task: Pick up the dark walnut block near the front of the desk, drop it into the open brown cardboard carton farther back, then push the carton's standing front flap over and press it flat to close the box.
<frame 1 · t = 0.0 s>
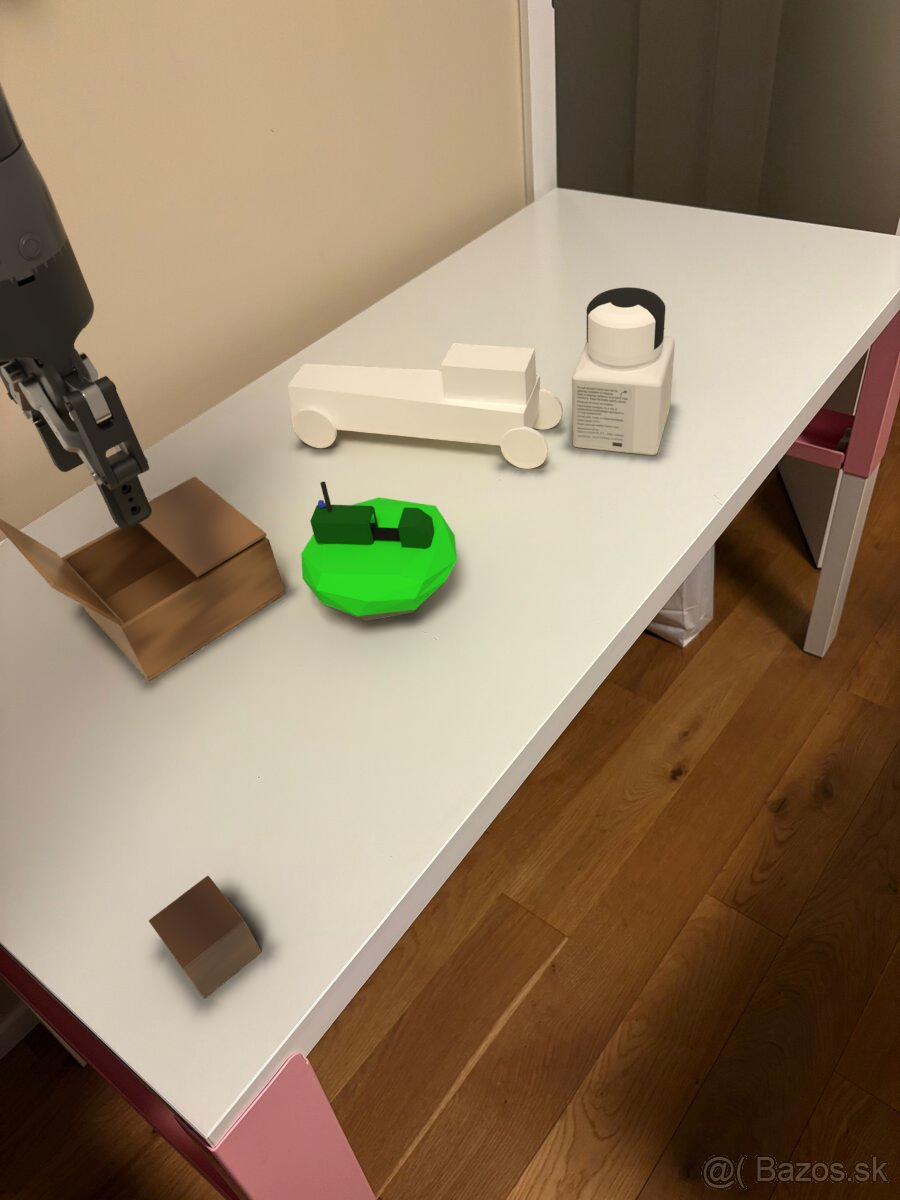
hand: (103, 491, 60), 17 cm above the table, tool pointing down, fingers open, 8 cm apart
flap: (53, 568, 68), point 9 cm above the table, hinge at 115.0°
carton: (185, 602, 78), on the table
block: (215, 951, 56), on the table
toy truck: (427, 439, 91), on the table
green domed toy: (389, 598, 76), on the table
container: (621, 430, 89), on the table
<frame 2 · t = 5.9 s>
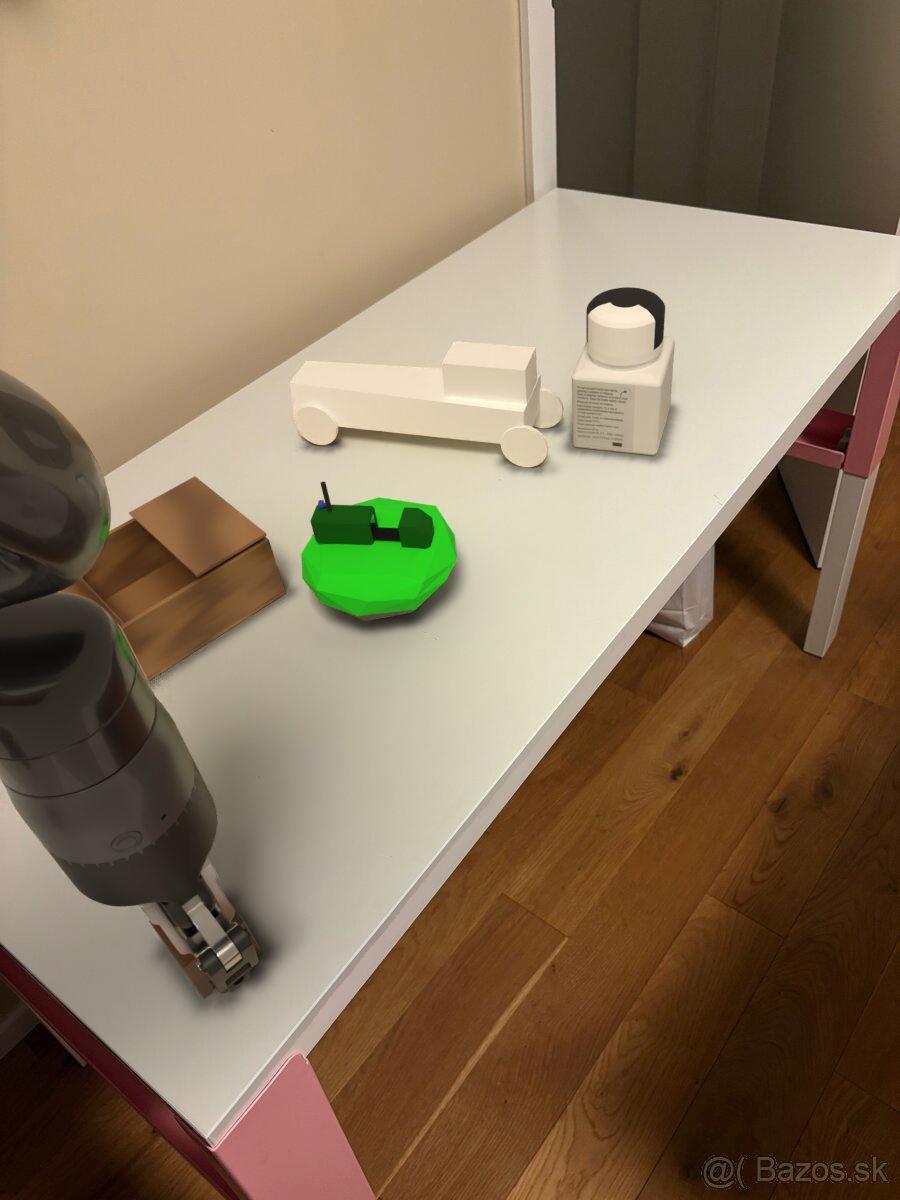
hand: (214, 949, 56), 0 cm above the table, tool pointing down, fingers closed on block, 4 cm apart
block: (215, 951, 56), on the table, touching gripper
everything else where it was.
when the fingers open (5 cm above the table, at t = 13.7 s): block drops 5 cm, resting on carton.
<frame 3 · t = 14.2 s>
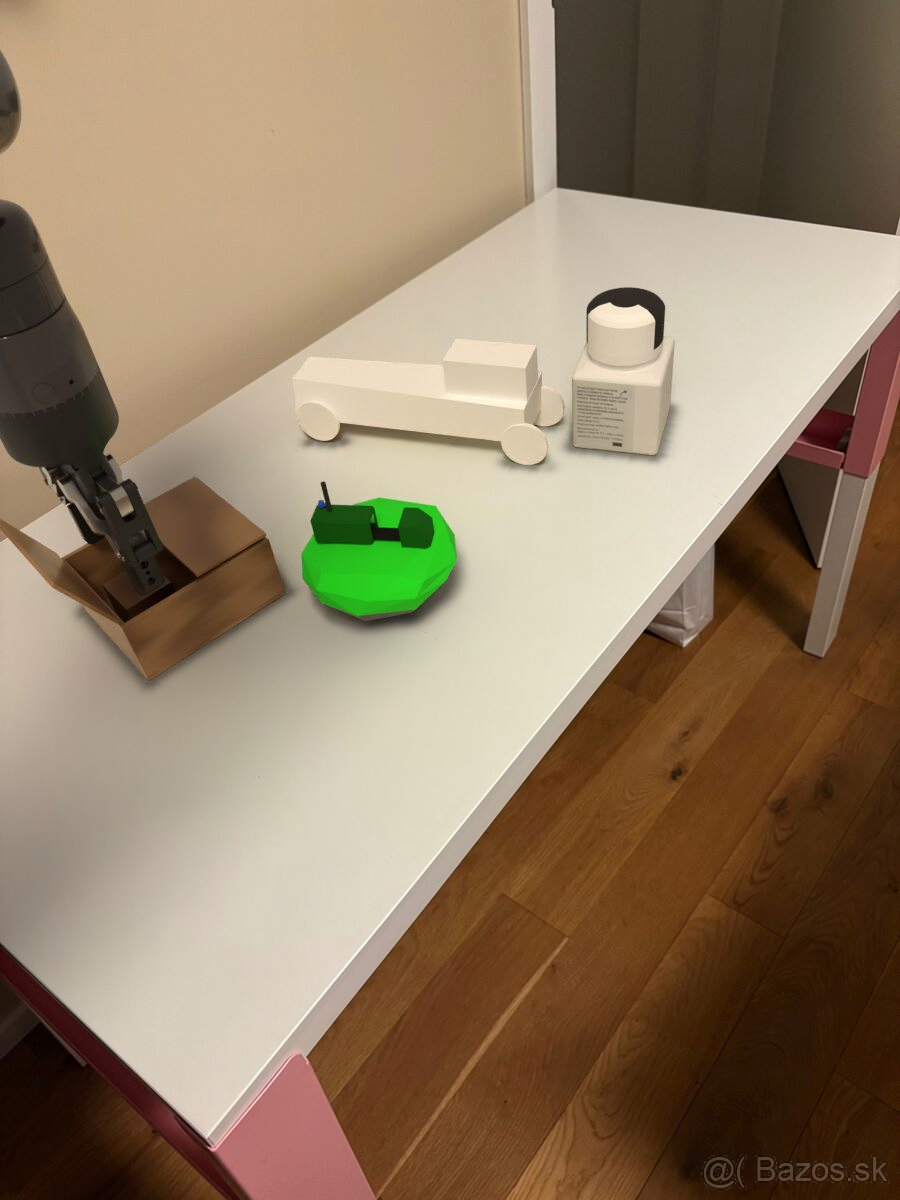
hand: (124, 561, 72), 7 cm above the table, tool pointing down, fingers open, 8 cm apart
block: (153, 618, 76), resting on carton
everything else where it was.
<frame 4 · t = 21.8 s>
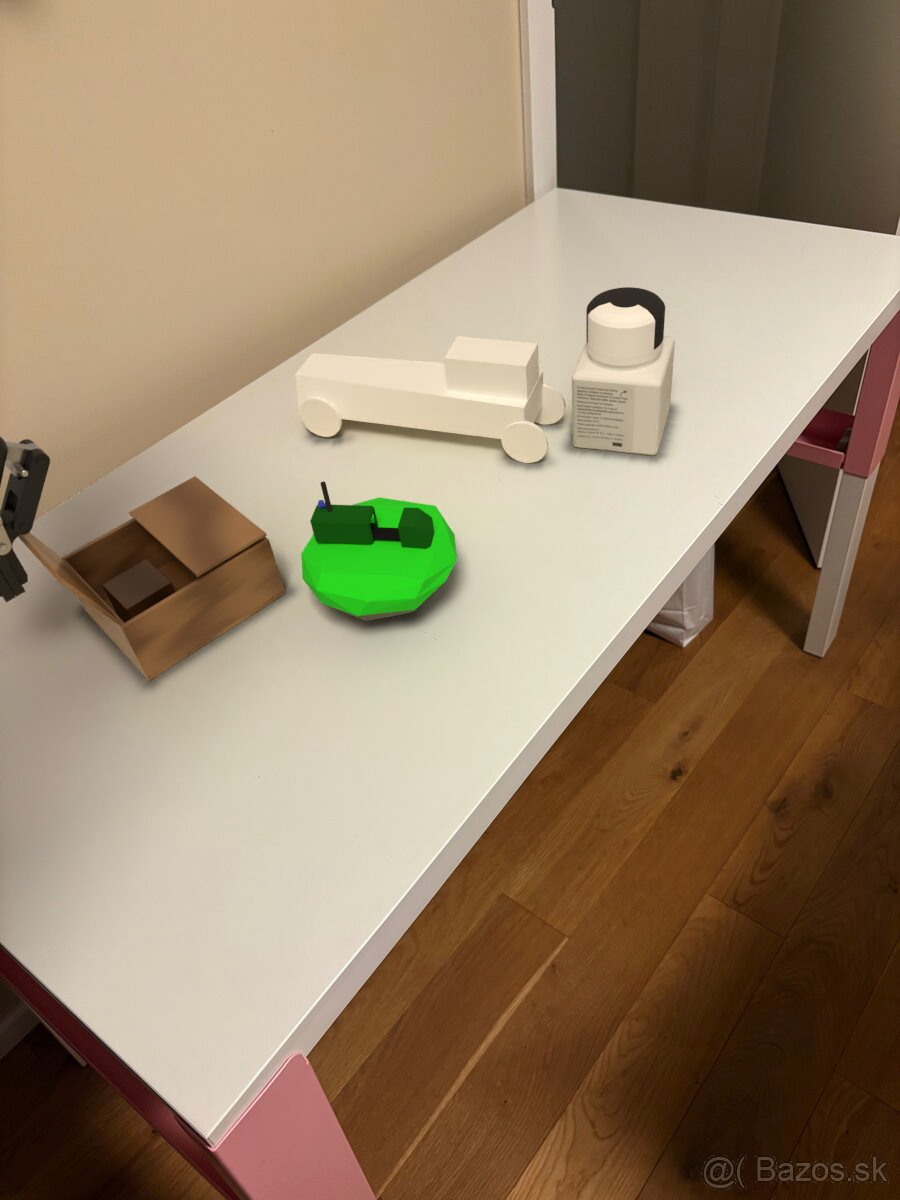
hand: (11, 591, 67), 9 cm above the table, tool pointing down, fingers closed
flap: (56, 565, 68), point 9 cm above the table, hinge at 109.7°, touching gripper
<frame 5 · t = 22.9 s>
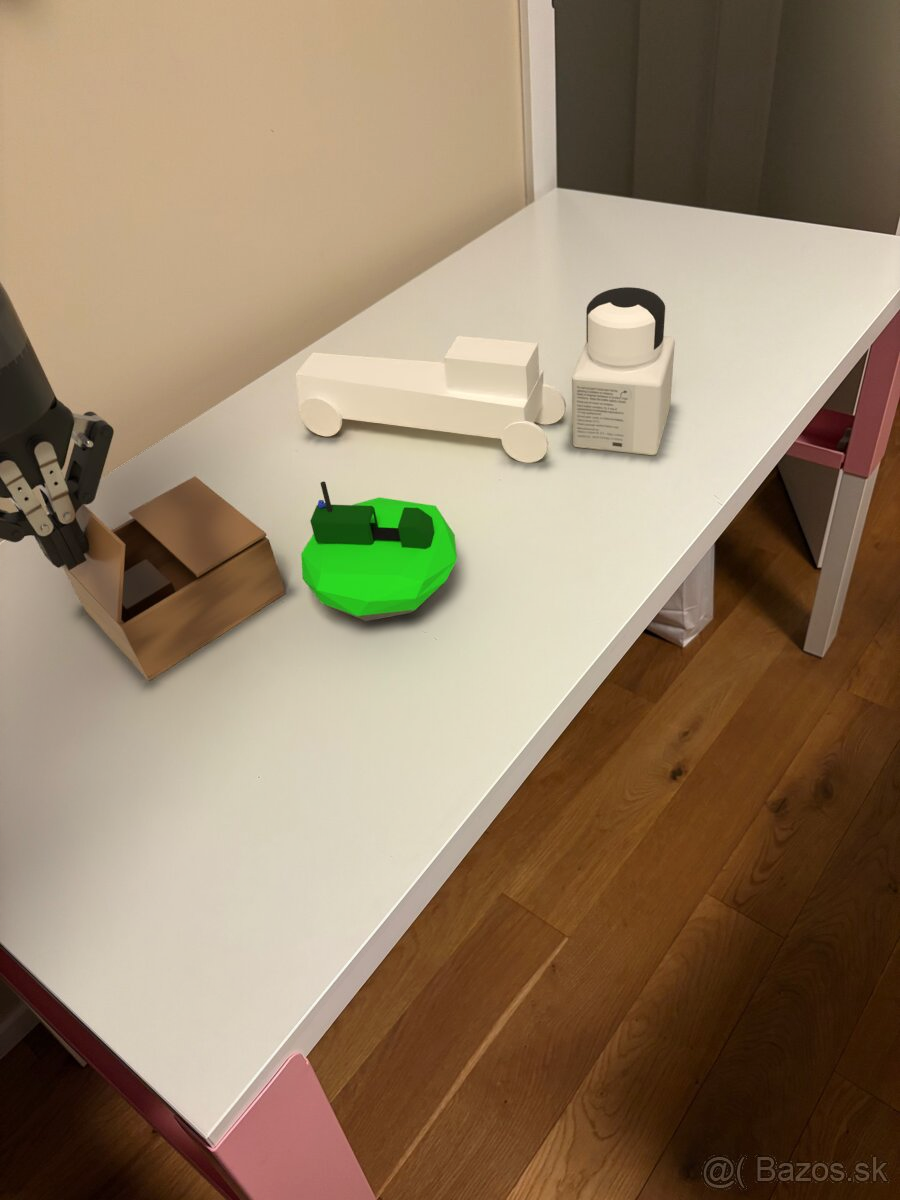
hand: (72, 560, 69), 9 cm above the table, tool pointing down, fingers closed
flap: (87, 549, 69), point 9 cm above the table, hinge at 65.7°, touching gripper
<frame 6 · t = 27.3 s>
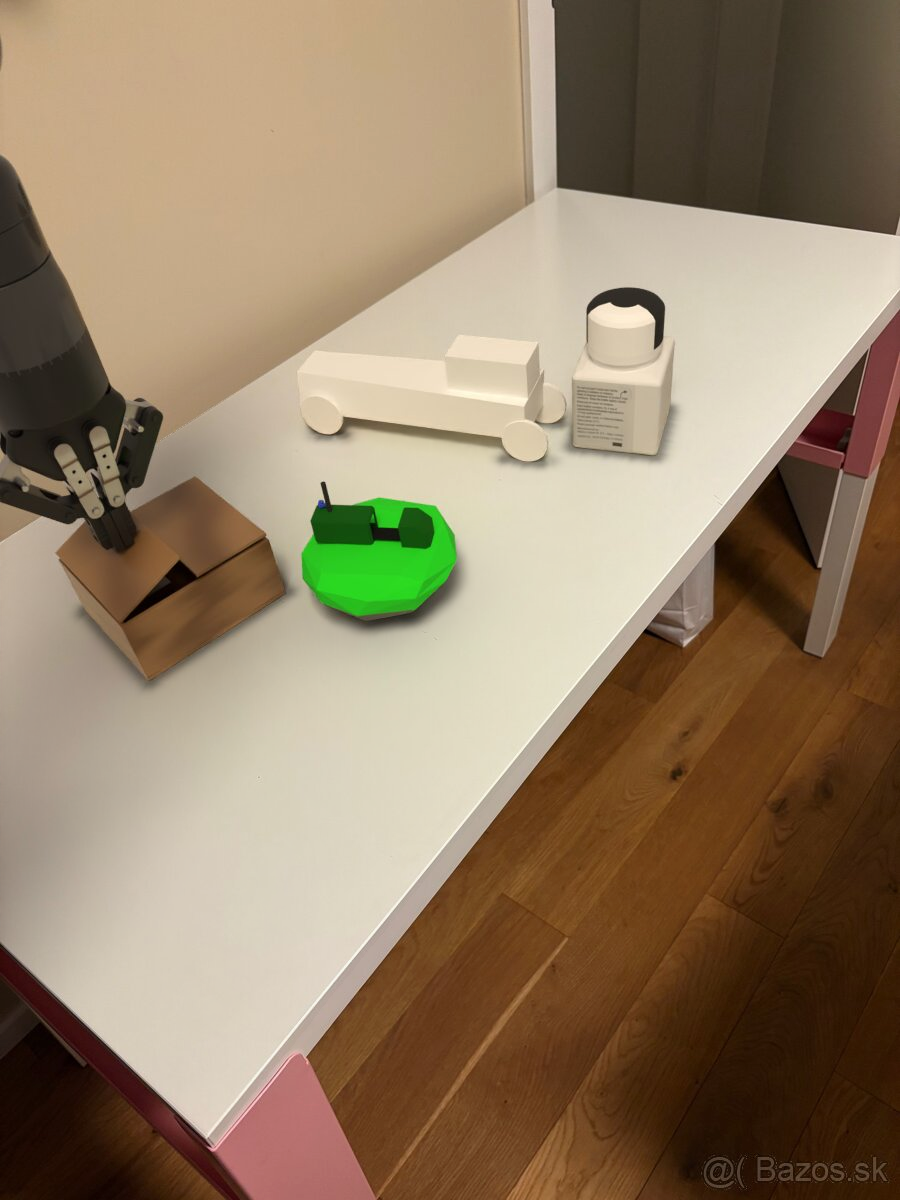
hand: (120, 543, 71), 8 cm above the table, tool pointing down, fingers closed
flap: (115, 555, 71), point 8 cm above the table, hinge at 22.0°, touching gripper
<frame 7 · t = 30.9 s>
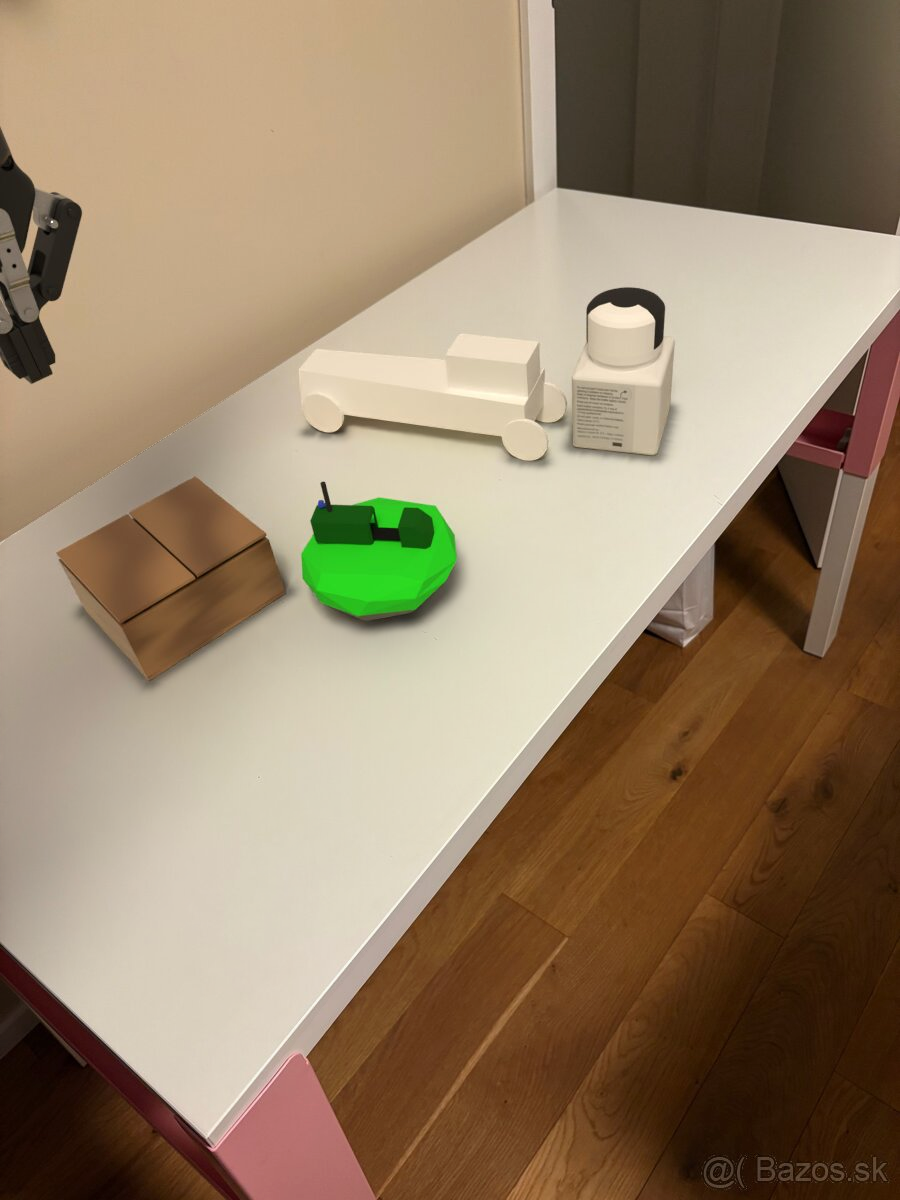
hand: (37, 374, 60), 23 cm above the table, tool pointing down, fingers closed
flap: (124, 565, 72), point 6 cm above the table, hinge at -0.4°
at the end: block inside the target area in the carton (2.9 cm from its centre), point 0.4 cm above the carton's base; flap at +0° (first picture: +115°) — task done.
